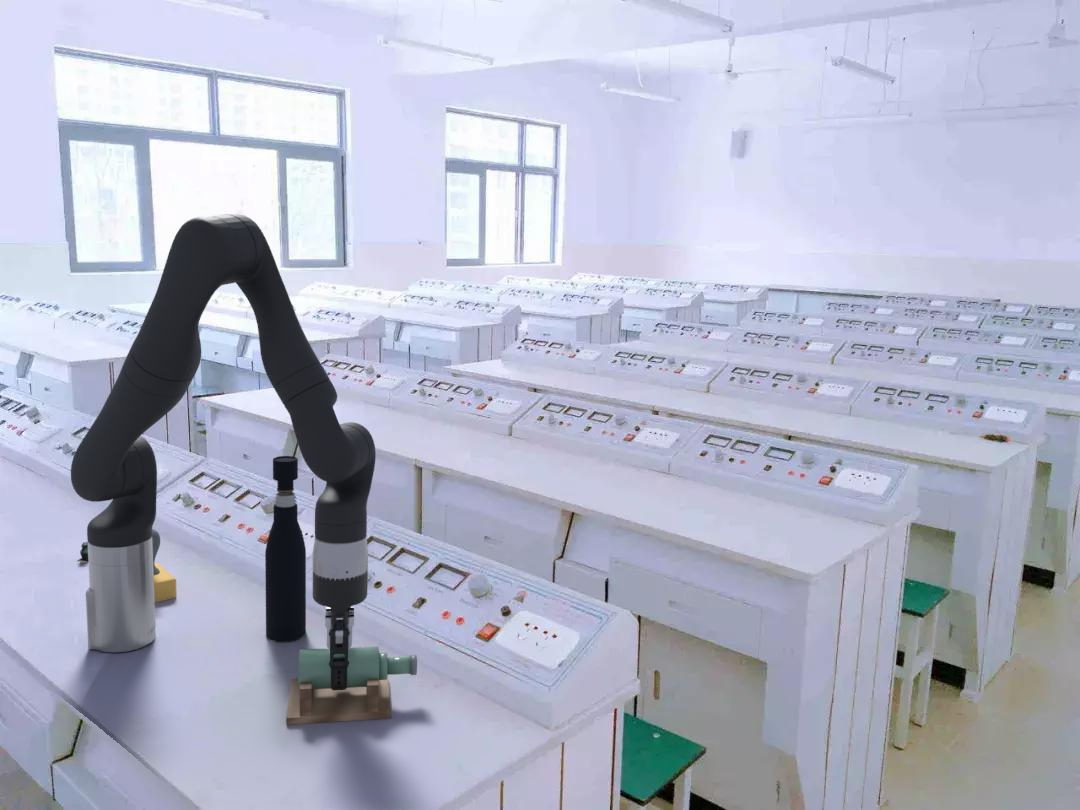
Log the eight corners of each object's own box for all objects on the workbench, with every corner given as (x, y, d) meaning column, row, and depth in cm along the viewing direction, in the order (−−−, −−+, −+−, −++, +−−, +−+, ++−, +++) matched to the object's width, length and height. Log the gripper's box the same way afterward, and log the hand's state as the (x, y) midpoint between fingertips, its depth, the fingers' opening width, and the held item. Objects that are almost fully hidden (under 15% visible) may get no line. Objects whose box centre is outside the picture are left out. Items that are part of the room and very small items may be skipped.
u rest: (286, 724, 122) (286, 690, 121) (291, 684, 132) (291, 653, 131) (390, 718, 125) (391, 685, 124) (387, 679, 135) (388, 649, 134)
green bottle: (298, 697, 124) (298, 659, 123) (300, 679, 129) (300, 643, 129) (416, 691, 127) (418, 655, 127) (414, 674, 133) (415, 639, 132)
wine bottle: (294, 644, 145) (294, 465, 139) (258, 639, 146) (256, 461, 141) (312, 628, 151) (312, 456, 146) (277, 623, 152) (276, 452, 147)
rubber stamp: (177, 597, 161) (175, 534, 159) (143, 605, 157) (141, 540, 155) (158, 580, 168) (156, 519, 166) (125, 586, 164) (123, 524, 162)
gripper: (368, 585, 118) (366, 702, 122) (367, 547, 132) (365, 653, 135) (310, 587, 117) (309, 705, 120) (314, 548, 131) (314, 656, 134)
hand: (339, 677), depth 128 cm, fingers open, 5 cm apart
